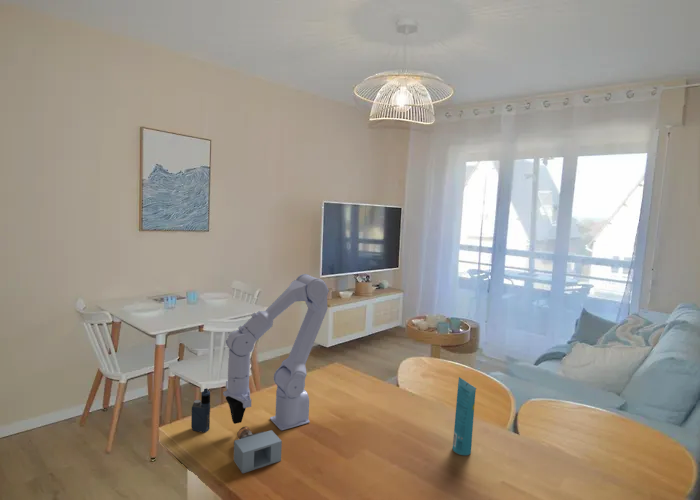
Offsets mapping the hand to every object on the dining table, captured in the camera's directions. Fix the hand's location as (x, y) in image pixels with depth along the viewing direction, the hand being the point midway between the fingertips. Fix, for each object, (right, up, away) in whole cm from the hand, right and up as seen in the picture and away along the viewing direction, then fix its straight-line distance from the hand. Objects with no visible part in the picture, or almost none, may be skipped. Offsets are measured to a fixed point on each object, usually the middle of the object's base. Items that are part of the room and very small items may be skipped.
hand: (237, 422), depth 114 cm
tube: (+62, -7, -2) cm, 62 cm away
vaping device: (-11, -3, +1) cm, 11 cm away
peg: (+5, -3, -7) cm, 9 cm away
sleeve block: (+8, -5, -11) cm, 15 cm away
